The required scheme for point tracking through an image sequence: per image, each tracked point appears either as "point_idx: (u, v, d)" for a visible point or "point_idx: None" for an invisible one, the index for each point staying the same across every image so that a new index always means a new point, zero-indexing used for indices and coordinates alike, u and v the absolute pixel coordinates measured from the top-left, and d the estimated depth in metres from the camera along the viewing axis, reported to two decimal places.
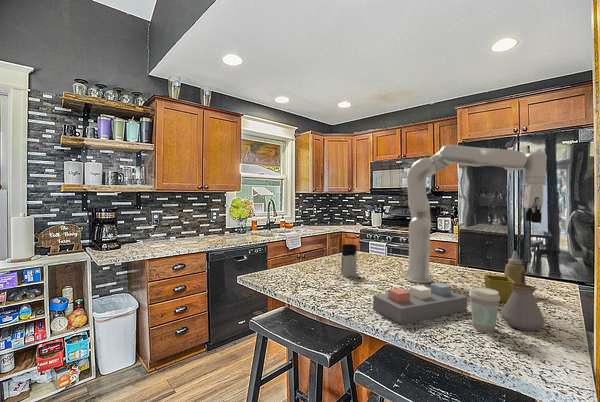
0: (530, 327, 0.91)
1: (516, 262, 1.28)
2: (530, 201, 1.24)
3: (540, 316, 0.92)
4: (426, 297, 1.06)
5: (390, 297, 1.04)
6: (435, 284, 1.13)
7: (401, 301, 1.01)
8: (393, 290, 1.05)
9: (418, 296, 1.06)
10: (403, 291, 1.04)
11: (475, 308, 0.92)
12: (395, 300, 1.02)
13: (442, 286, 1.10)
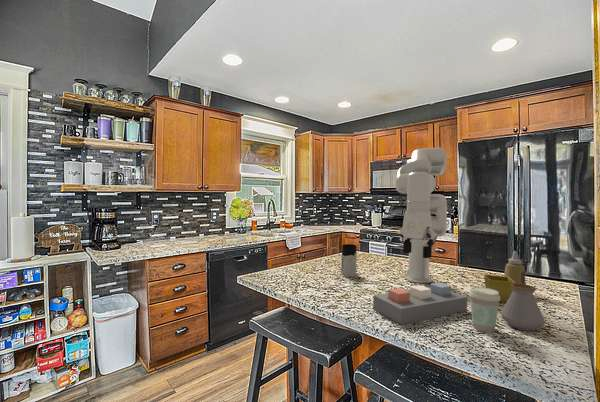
0: (530, 327, 0.91)
1: (516, 262, 1.28)
2: (423, 232, 1.01)
3: (540, 316, 0.92)
4: (426, 297, 1.06)
5: (390, 297, 1.04)
6: (435, 284, 1.13)
7: (401, 301, 1.01)
8: (393, 290, 1.05)
9: (418, 296, 1.06)
10: (403, 291, 1.04)
11: (475, 308, 0.92)
12: (395, 300, 1.02)
13: (442, 286, 1.10)
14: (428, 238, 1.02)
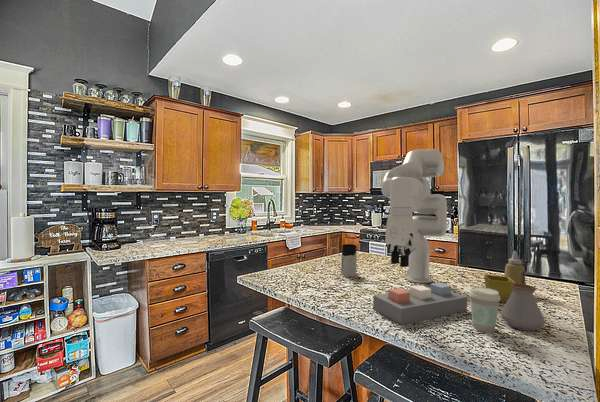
0: (530, 327, 0.91)
1: (516, 262, 1.28)
2: (406, 239, 0.98)
3: (540, 316, 0.92)
4: (426, 297, 1.06)
5: (390, 297, 1.04)
6: (435, 284, 1.13)
7: (401, 301, 1.01)
8: (393, 290, 1.05)
9: (418, 296, 1.06)
10: (403, 291, 1.04)
11: (475, 308, 0.92)
12: (395, 300, 1.02)
13: (442, 286, 1.10)
14: (408, 247, 1.01)
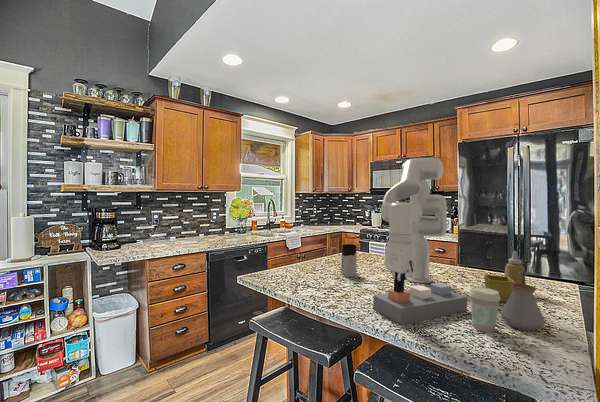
0: (530, 327, 0.91)
1: (516, 262, 1.28)
2: (405, 266, 0.98)
3: (540, 316, 0.92)
4: (426, 297, 1.06)
5: (390, 297, 1.04)
6: (435, 284, 1.13)
7: (401, 301, 1.01)
8: (393, 290, 1.05)
9: (418, 296, 1.06)
10: (403, 291, 1.04)
11: (475, 308, 0.92)
12: (395, 300, 1.02)
13: (442, 286, 1.10)
14: (404, 273, 1.02)
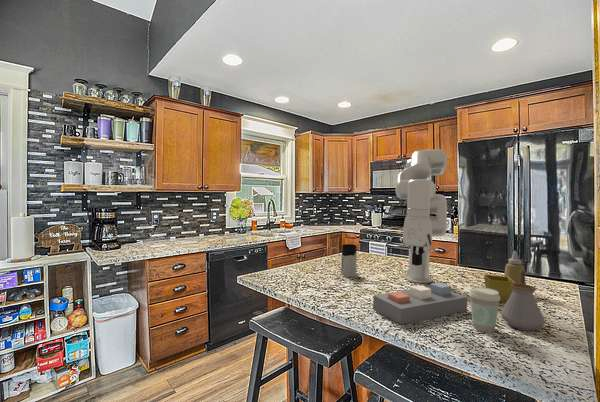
0: (530, 327, 0.91)
1: (516, 262, 1.28)
2: (423, 239, 1.02)
3: (540, 316, 0.92)
4: (426, 297, 1.06)
5: None
6: (435, 284, 1.13)
7: None
8: (393, 294, 1.05)
9: (418, 296, 1.06)
10: (403, 295, 1.04)
11: (475, 308, 0.92)
12: None
13: (442, 286, 1.10)
14: (422, 247, 1.06)
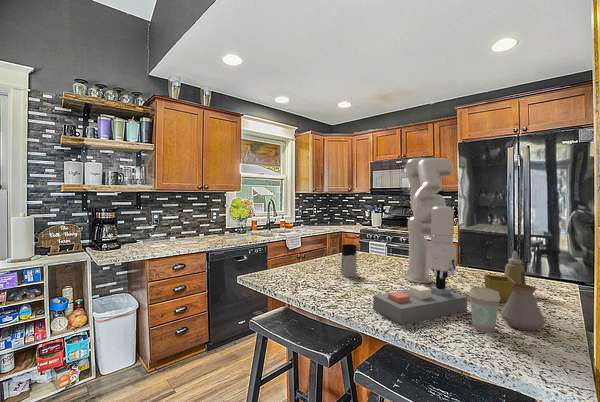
0: (530, 327, 0.91)
1: (516, 262, 1.28)
2: (448, 265, 1.07)
3: (540, 316, 0.92)
4: (426, 297, 1.06)
5: None
6: (435, 287, 1.13)
7: None
8: (393, 294, 1.05)
9: (418, 296, 1.06)
10: (403, 295, 1.04)
11: (475, 308, 0.92)
12: None
13: (442, 289, 1.10)
14: (446, 272, 1.10)
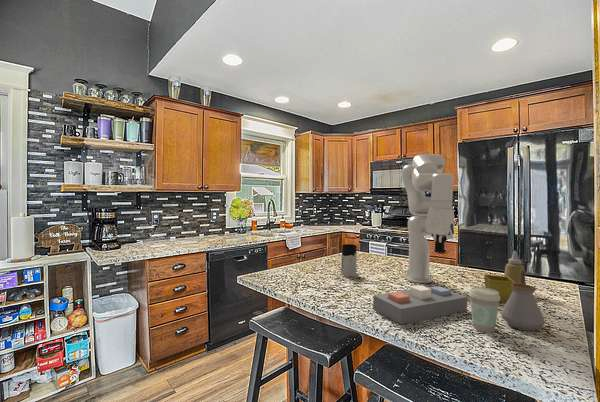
0: (530, 327, 0.91)
1: (516, 262, 1.28)
2: (447, 228, 1.11)
3: (540, 316, 0.92)
4: (426, 297, 1.06)
5: None
6: (435, 288, 1.13)
7: None
8: (393, 294, 1.05)
9: (418, 296, 1.06)
10: (403, 295, 1.04)
11: (475, 308, 0.92)
12: None
13: (442, 290, 1.10)
14: None
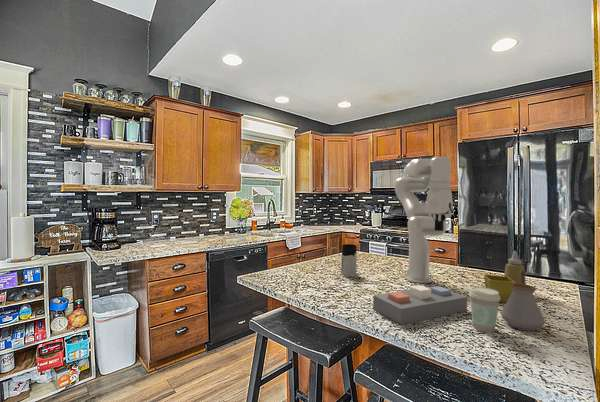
0: (530, 327, 0.91)
1: (516, 262, 1.28)
2: (445, 207, 1.20)
3: (540, 316, 0.92)
4: (426, 297, 1.06)
5: None
6: (435, 288, 1.13)
7: None
8: (393, 294, 1.05)
9: (418, 296, 1.06)
10: (403, 295, 1.04)
11: (475, 308, 0.92)
12: None
13: (442, 290, 1.10)
14: None
